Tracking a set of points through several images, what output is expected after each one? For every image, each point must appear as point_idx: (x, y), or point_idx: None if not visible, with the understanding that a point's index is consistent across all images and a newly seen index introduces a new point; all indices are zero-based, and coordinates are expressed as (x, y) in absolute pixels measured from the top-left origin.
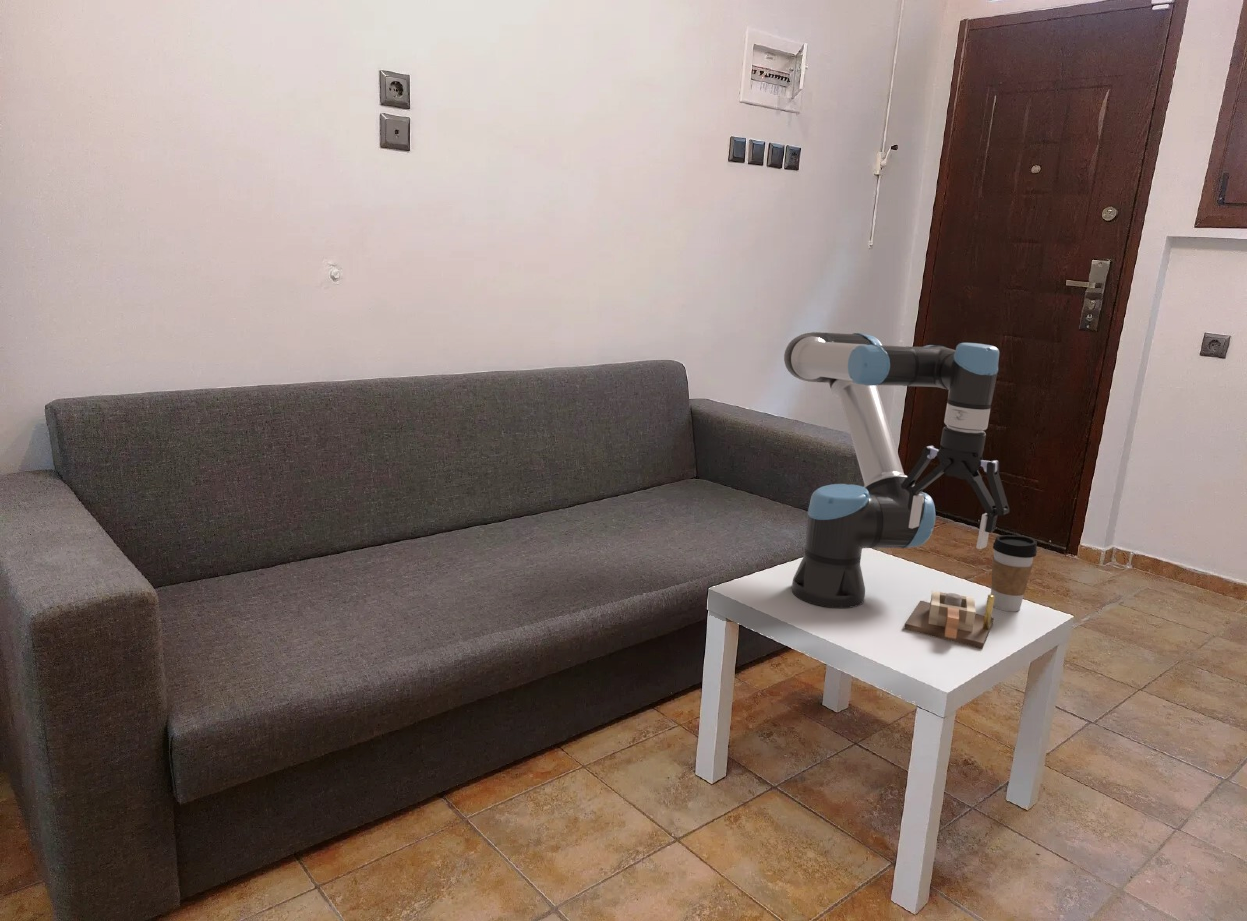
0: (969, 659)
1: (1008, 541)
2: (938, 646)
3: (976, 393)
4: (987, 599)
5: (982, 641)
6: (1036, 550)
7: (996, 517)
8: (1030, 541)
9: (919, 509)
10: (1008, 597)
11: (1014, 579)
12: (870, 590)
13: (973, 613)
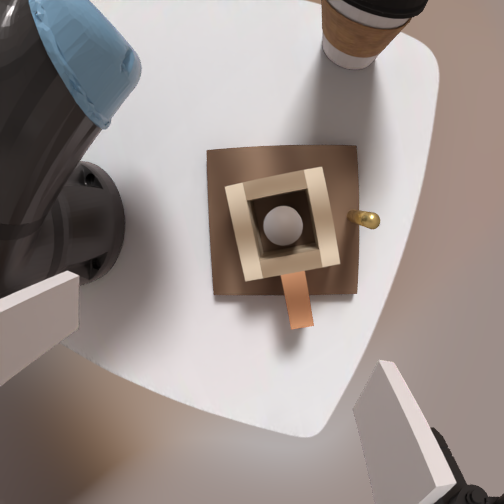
0: (338, 343)
1: None
2: (285, 326)
3: None
4: (362, 223)
5: (355, 287)
6: None
7: (461, 487)
8: None
9: (24, 323)
10: (364, 59)
11: (381, 43)
12: (119, 145)
13: (336, 264)
